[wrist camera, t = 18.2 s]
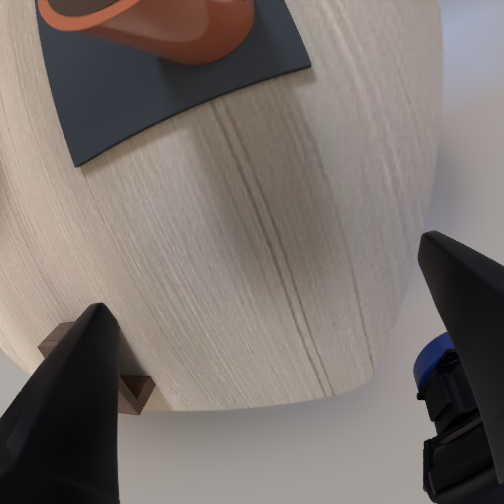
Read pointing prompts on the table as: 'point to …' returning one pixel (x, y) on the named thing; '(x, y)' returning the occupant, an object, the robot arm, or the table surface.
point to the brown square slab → (130, 387)
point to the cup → (158, 25)
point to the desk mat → (154, 79)
